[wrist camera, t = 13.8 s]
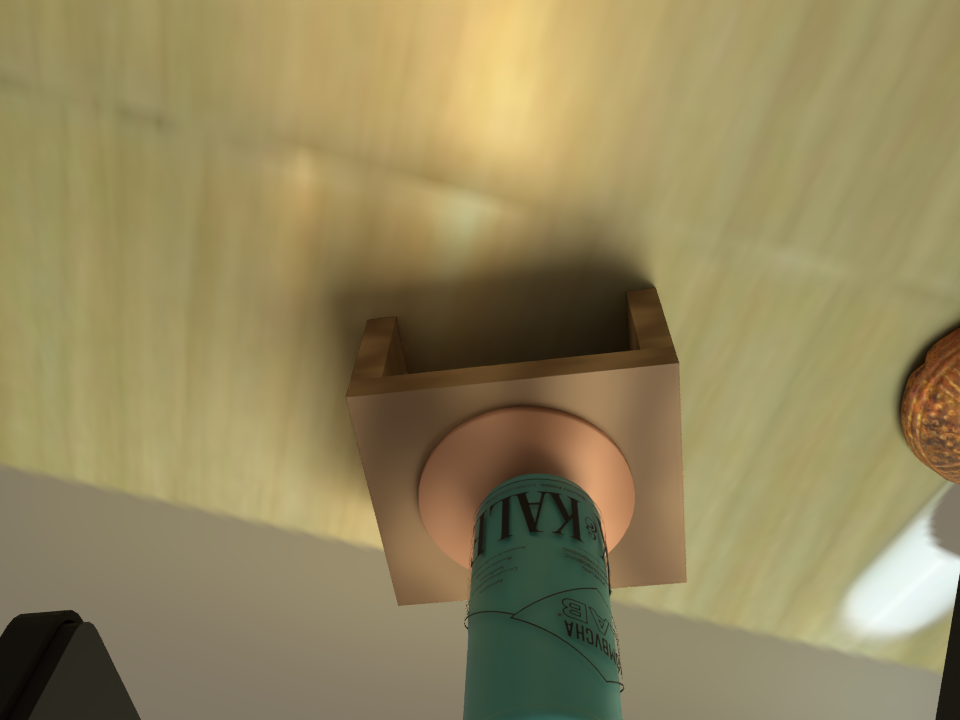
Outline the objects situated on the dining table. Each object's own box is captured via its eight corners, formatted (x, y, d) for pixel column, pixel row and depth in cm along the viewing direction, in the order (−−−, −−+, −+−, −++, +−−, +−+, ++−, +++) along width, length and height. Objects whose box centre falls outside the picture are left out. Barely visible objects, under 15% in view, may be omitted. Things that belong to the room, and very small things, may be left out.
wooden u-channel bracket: (655, 287, 50) (681, 369, 43) (665, 489, 57) (688, 590, 50) (367, 319, 52) (343, 404, 44) (411, 512, 59) (397, 613, 51)
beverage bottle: (559, 566, 49) (584, 973, 32) (449, 518, 48) (411, 916, 30) (626, 481, 46) (693, 880, 29) (510, 427, 45) (507, 812, 27)
